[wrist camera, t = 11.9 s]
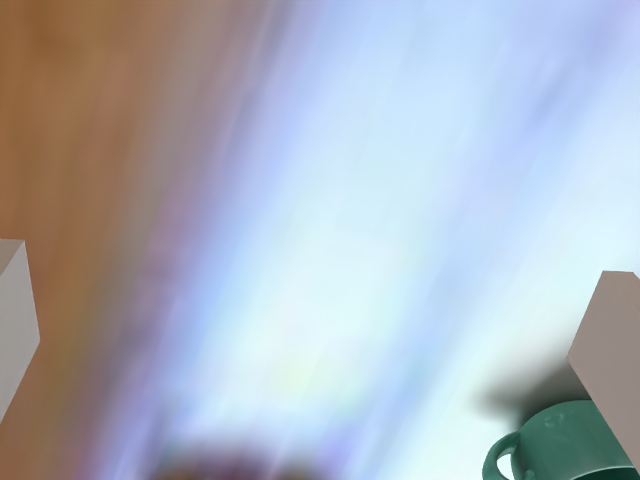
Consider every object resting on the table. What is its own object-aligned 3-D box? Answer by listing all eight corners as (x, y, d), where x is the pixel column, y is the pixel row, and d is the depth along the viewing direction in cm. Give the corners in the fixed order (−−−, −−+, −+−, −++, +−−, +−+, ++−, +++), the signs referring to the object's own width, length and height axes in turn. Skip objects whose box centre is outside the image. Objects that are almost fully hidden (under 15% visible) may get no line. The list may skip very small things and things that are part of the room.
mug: (650, 394, 59) (708, 477, 51) (584, 475, 65) (627, 561, 57) (498, 363, 56) (534, 446, 48) (444, 451, 62) (469, 539, 54)
